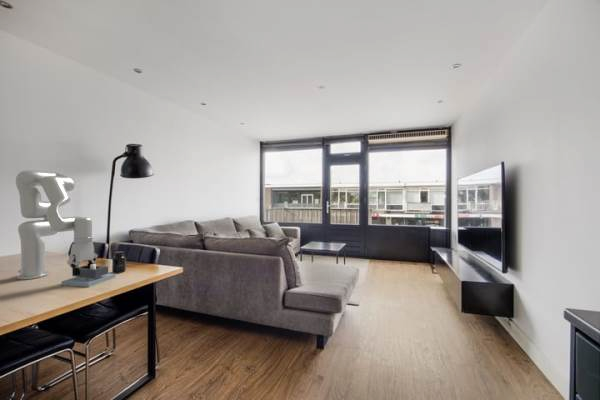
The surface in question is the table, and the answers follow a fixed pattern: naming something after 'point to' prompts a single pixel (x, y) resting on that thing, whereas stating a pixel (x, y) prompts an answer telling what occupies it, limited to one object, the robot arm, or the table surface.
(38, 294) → the table surface
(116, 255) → the supplement bottle
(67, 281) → the board
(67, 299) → the table surface
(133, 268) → the table surface
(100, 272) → the dark gray open box
